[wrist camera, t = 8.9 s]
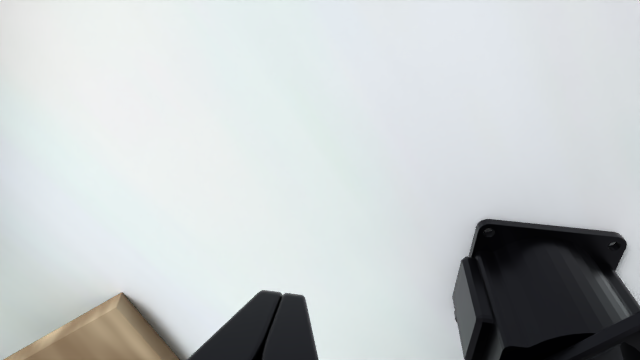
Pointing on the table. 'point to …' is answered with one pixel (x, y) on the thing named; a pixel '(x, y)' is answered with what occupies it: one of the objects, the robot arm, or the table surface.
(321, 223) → the table surface
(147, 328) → the square wooden board
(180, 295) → the table surface
